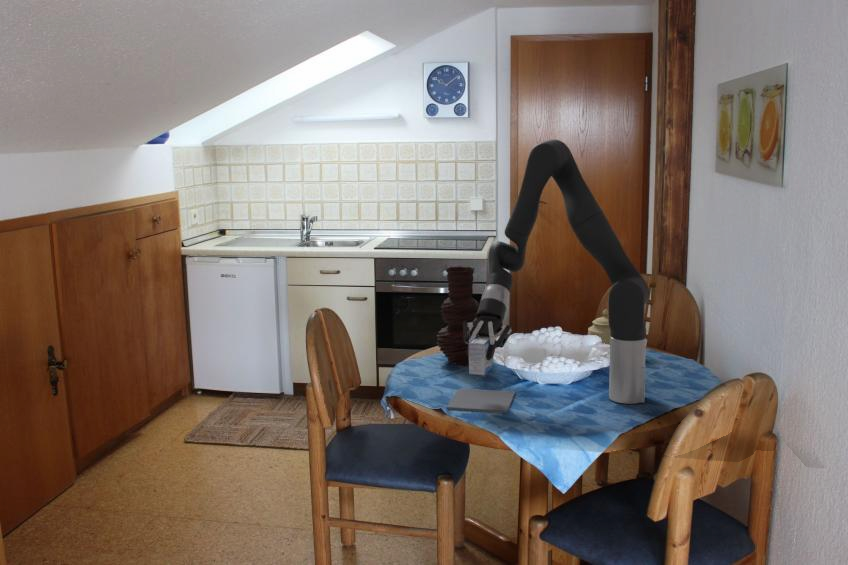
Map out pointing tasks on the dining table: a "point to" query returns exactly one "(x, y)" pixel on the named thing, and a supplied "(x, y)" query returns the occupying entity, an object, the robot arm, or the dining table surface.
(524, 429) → the dining table surface
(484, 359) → the medicine box
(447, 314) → the vase
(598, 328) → the sugar bowl
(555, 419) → the dining table surface
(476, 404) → the charcoal mat
